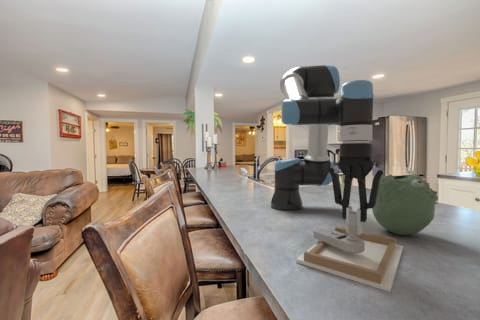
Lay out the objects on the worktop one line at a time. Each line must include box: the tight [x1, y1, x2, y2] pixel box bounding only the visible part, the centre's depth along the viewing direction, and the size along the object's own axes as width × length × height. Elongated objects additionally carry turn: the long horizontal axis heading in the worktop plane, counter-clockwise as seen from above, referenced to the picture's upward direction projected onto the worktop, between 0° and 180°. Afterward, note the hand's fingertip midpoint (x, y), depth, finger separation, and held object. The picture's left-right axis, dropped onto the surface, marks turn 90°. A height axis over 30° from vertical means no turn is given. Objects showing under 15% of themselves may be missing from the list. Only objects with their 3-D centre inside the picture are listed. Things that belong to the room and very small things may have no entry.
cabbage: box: [371, 173, 439, 236], centre depth 79 cm, size 16×19×20 cm
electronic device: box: [312, 211, 365, 253], centre depth 66 cm, size 5×10×15 cm
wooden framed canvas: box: [295, 226, 404, 293], centre depth 64 cm, size 26×20×3 cm
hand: (354, 232), depth 63 cm, fingers open, 2 cm apart
